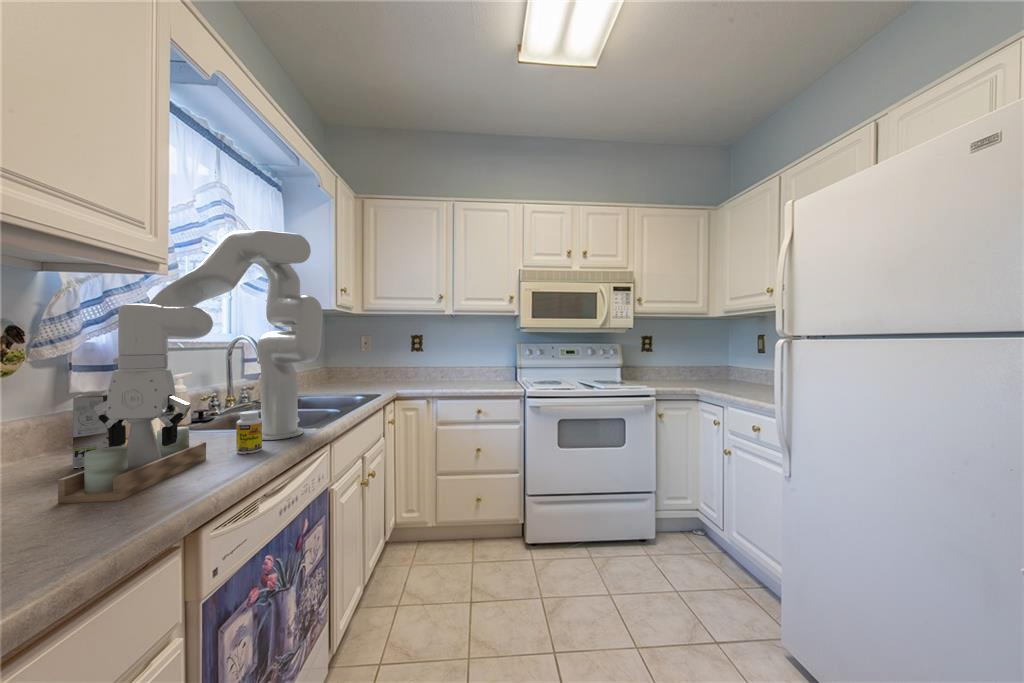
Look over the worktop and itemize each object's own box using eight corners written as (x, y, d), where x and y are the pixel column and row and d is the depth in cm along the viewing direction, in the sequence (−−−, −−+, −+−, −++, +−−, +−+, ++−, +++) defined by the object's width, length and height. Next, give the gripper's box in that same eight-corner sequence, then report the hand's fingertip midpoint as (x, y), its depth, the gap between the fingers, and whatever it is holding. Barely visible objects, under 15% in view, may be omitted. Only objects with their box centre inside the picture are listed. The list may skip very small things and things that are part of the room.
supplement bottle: (235, 455, 96) (235, 415, 96) (237, 450, 101) (237, 411, 101) (261, 452, 99) (262, 412, 99) (262, 447, 104) (262, 409, 104)
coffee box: (111, 465, 88) (111, 395, 88) (71, 470, 85) (71, 397, 85) (126, 455, 96) (126, 390, 96) (90, 458, 93) (90, 392, 93)
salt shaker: (145, 465, 84) (142, 406, 83) (170, 466, 83) (167, 407, 83) (116, 476, 78) (112, 413, 77) (142, 477, 77) (139, 414, 77)
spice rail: (161, 461, 92) (161, 426, 92) (206, 459, 93) (206, 425, 93) (58, 503, 68) (58, 457, 68) (119, 500, 69) (119, 455, 69)
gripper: (78, 364, 76) (78, 451, 76) (176, 364, 78) (176, 448, 78) (112, 362, 83) (112, 441, 83) (201, 362, 85) (200, 439, 85)
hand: (143, 445), depth 80 cm, fingers open, 9 cm apart
